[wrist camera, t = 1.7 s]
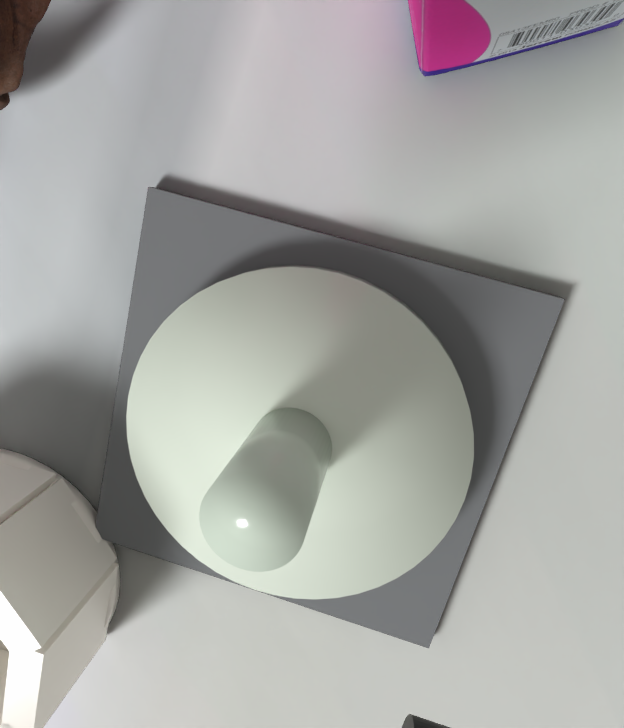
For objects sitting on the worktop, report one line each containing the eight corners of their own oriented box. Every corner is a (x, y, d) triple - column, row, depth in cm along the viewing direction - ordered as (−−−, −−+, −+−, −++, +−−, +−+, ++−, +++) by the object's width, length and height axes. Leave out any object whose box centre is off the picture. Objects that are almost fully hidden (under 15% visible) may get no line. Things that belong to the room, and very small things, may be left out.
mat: (560, 296, 18) (564, 299, 18) (428, 638, 22) (428, 648, 22) (154, 187, 19) (148, 186, 19) (100, 529, 23) (93, 536, 23)
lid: (521, 321, 18) (575, 373, 12) (411, 619, 21) (410, 773, 16) (171, 224, 19) (63, 229, 13) (120, 522, 23) (17, 632, 17)
